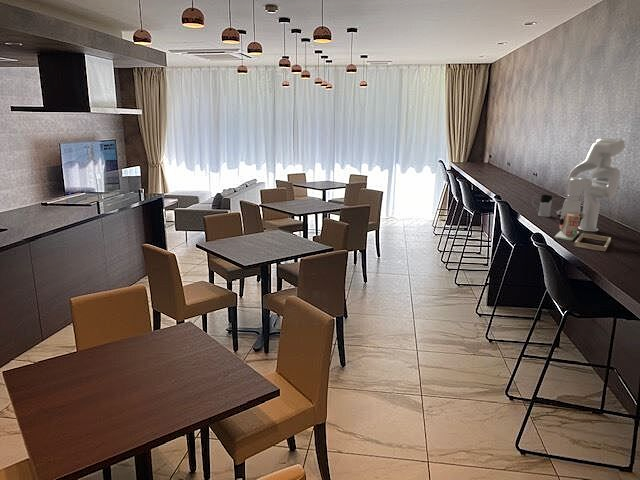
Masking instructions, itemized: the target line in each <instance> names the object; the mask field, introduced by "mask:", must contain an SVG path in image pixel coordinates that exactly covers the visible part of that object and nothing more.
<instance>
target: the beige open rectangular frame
mask: <svg viewBox="0 0 640 480" xmlns="http://www.w3.org/2000/svg"><path fill="white" fill-rule="evenodd" d="M583 238H584V239H589V240H590V239H591V240H596V241H604V242H606V243H605V244H604V246H602V245H598V244H597V245H596V244H591V243H583V242H581V241H582V239H583ZM611 240H612V237H610V236H604V235H598V234H597V235H596V234H592V233H591V234H589V233H581V234H580V235H579V236H578V237H577V238H576V239H575V241H574V242H573V247H574V248H583V249H587V250H593V251H601V252H606V250H607V249H608V247H609V245H610V243H611Z"/></svg>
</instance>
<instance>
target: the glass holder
mask: <svg viewBox="0 0 640 480" xmlns="http://www.w3.org/2000/svg"><path fill="white" fill-rule="evenodd" d="M534 198H537V202H538V203H539V209H538V208H537V207H536V206H535V205H534V200H533V199H534ZM531 203H532V206H533V208H535V209H536V211H537V213H538V214H537V216H538V217H545V218H549V217H551V209H552V203H553V195H551V194H550V195H549V194H542V195H541V196H540V199H539V197H538V196H536V195H534V196H533V197H532V199H531Z"/></svg>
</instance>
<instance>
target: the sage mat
mask: <svg viewBox="0 0 640 480" xmlns="http://www.w3.org/2000/svg"><path fill="white" fill-rule="evenodd" d="M579 234H580V230H579V231H578V230H577V235H576V236H573V235H566V234H565V233H564V232H563V231H562V230H561V229H560V230H559V232H557V233H556V234H555V236H554V239H559V240H566V241H574V239H575V238H576V237H577V236H578V235H579Z"/></svg>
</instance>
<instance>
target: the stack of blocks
mask: <svg viewBox="0 0 640 480" xmlns="http://www.w3.org/2000/svg"><path fill="white" fill-rule="evenodd" d="M560 215H561V216H562V214H561V213H560ZM580 218H581V216H579V215H578V214H572V213H566V216H564V217H563V224H562V225H560V223H559V224H558V228H559V229H560V231H561V230H562V231H563V232H564V233H565V234H566V235H573V236H576V235H577V231H578V230H579V229H578V226H580V222H581V220H580ZM577 236H578V235H577ZM577 236H576V237H577Z"/></svg>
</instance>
